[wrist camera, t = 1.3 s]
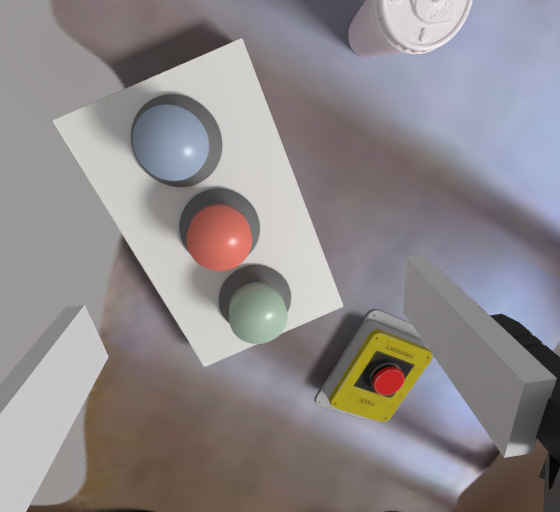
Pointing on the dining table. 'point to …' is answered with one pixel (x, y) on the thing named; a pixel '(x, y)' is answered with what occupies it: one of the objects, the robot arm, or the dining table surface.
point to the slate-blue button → (170, 142)
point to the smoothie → (405, 26)
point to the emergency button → (376, 369)
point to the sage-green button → (257, 313)
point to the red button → (219, 237)
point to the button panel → (206, 197)
